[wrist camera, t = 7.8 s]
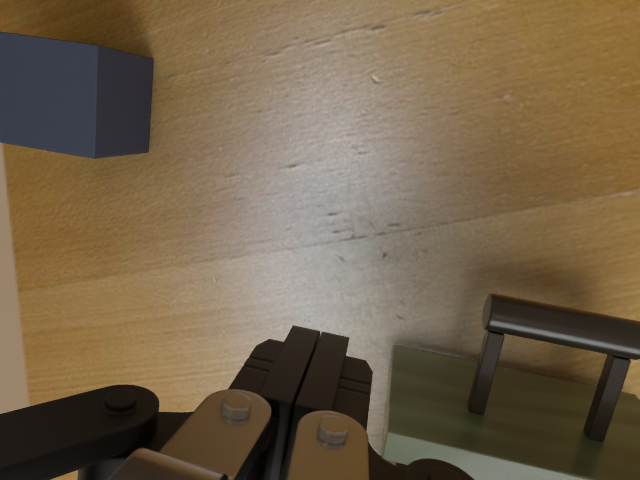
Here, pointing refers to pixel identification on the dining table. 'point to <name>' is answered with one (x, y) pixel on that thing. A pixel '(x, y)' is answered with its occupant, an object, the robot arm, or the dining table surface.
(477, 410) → the drawer
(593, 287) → the dining table surface
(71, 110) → the block
